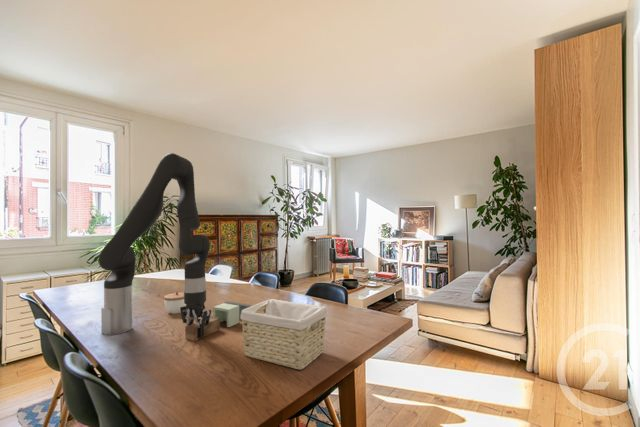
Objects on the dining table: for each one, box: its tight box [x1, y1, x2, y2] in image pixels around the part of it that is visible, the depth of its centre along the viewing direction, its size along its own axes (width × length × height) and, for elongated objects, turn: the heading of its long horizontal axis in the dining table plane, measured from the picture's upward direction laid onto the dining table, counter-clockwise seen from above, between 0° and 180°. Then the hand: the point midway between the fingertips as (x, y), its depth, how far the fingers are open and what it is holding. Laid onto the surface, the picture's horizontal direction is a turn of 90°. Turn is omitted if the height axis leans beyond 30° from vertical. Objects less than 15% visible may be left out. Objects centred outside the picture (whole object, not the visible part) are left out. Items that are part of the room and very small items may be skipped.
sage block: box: [212, 302, 240, 328], centre depth 125 cm, size 6×8×7 cm
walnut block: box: [184, 316, 221, 342], centre depth 114 cm, size 12×4×4 cm, turn 152°
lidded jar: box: [163, 291, 186, 315], centre depth 142 cm, size 11×11×9 cm
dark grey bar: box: [224, 301, 254, 320], centre depth 133 cm, size 5×16×6 cm, turn 63°
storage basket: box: [239, 298, 328, 370], centre depth 97 cm, size 24×16×15 cm
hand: (195, 336), depth 111 cm, fingers closed on walnut block, 4 cm apart
